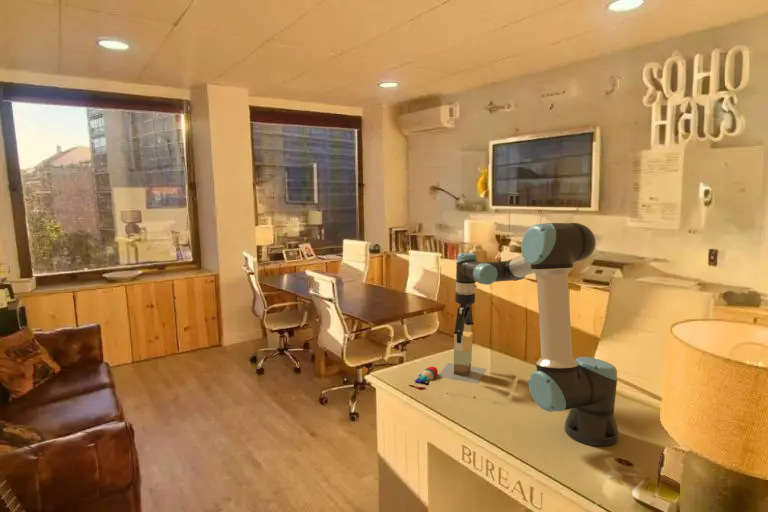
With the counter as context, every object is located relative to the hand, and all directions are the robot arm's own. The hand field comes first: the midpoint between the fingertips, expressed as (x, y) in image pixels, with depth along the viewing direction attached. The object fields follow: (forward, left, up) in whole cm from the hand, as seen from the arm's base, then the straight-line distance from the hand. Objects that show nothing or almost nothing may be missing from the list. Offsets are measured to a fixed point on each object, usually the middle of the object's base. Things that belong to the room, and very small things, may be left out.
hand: (463, 345), depth 189 cm
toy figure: (-12, +12, -13) cm, 21 cm away
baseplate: (0, 0, -12) cm, 12 cm away
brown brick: (0, 0, -11) cm, 11 cm away
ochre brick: (0, 0, -1) cm, 1 cm away
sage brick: (0, 0, -7) cm, 7 cm away
